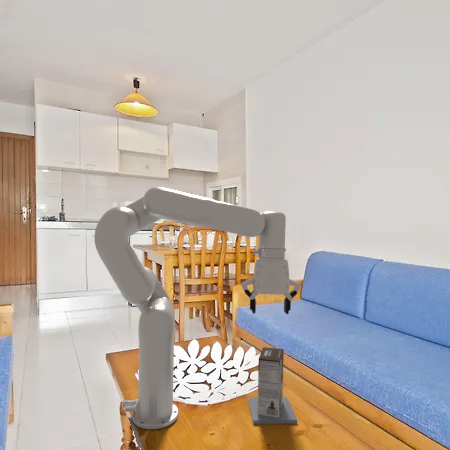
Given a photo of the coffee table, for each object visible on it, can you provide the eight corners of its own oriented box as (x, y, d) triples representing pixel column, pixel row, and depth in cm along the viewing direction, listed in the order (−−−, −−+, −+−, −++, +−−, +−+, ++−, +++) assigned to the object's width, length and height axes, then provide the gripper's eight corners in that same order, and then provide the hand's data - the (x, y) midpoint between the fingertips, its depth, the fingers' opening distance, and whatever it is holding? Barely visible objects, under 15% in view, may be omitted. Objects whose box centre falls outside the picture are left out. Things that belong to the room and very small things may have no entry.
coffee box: (261, 398, 102) (262, 346, 102) (283, 401, 100) (284, 348, 100) (257, 415, 93) (258, 357, 93) (280, 419, 91) (281, 360, 91)
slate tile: (253, 423, 90) (253, 420, 90) (248, 400, 102) (248, 397, 102) (297, 423, 91) (297, 419, 91) (286, 400, 103) (286, 396, 103)
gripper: (243, 254, 93) (241, 315, 93) (304, 256, 94) (302, 316, 94) (241, 252, 101) (239, 308, 101) (297, 253, 101) (296, 309, 102)
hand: (269, 312), depth 98 cm, fingers open, 9 cm apart
